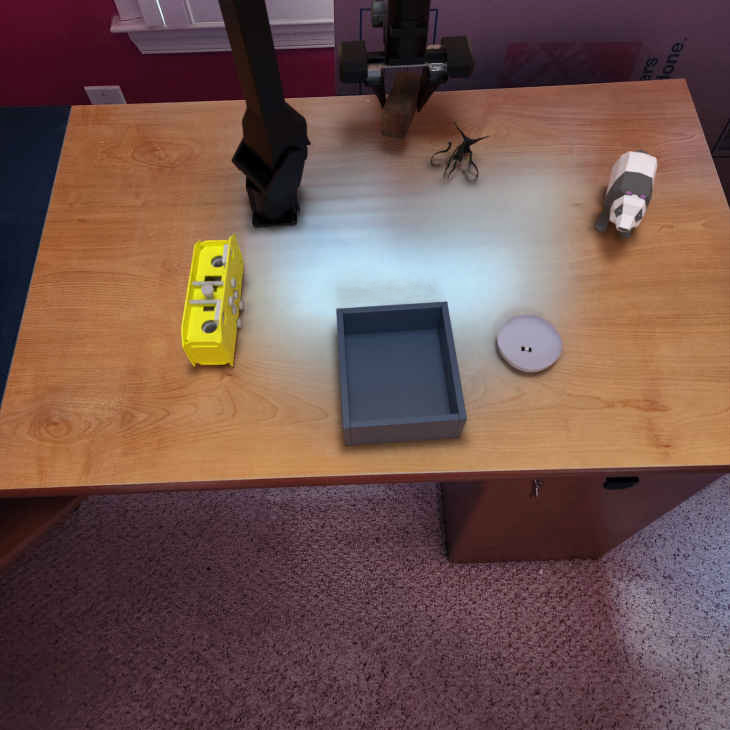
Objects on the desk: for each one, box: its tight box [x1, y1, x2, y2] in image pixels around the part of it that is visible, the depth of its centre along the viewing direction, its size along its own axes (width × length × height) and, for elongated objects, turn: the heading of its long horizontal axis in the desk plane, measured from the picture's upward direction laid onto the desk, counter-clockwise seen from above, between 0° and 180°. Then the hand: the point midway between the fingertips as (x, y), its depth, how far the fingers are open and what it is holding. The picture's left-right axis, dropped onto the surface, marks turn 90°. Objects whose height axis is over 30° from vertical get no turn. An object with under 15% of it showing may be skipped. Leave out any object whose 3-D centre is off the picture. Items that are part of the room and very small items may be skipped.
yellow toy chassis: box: [180, 233, 245, 368], centre depth 73 cm, size 16×6×8 cm, turn 1°
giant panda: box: [594, 149, 658, 240], centre depth 79 cm, size 15×6×10 cm, turn 159°
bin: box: [335, 301, 468, 447], centre depth 69 cm, size 14×16×6 cm
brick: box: [381, 70, 422, 140], centre depth 87 cm, size 11×4×5 cm, turn 164°
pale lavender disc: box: [496, 313, 563, 373], centre depth 73 cm, size 8×8×2 cm
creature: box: [430, 120, 490, 183], centre depth 86 cm, size 8×5×8 cm
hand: (401, 111), depth 89 cm, fingers closed on brick, 5 cm apart
